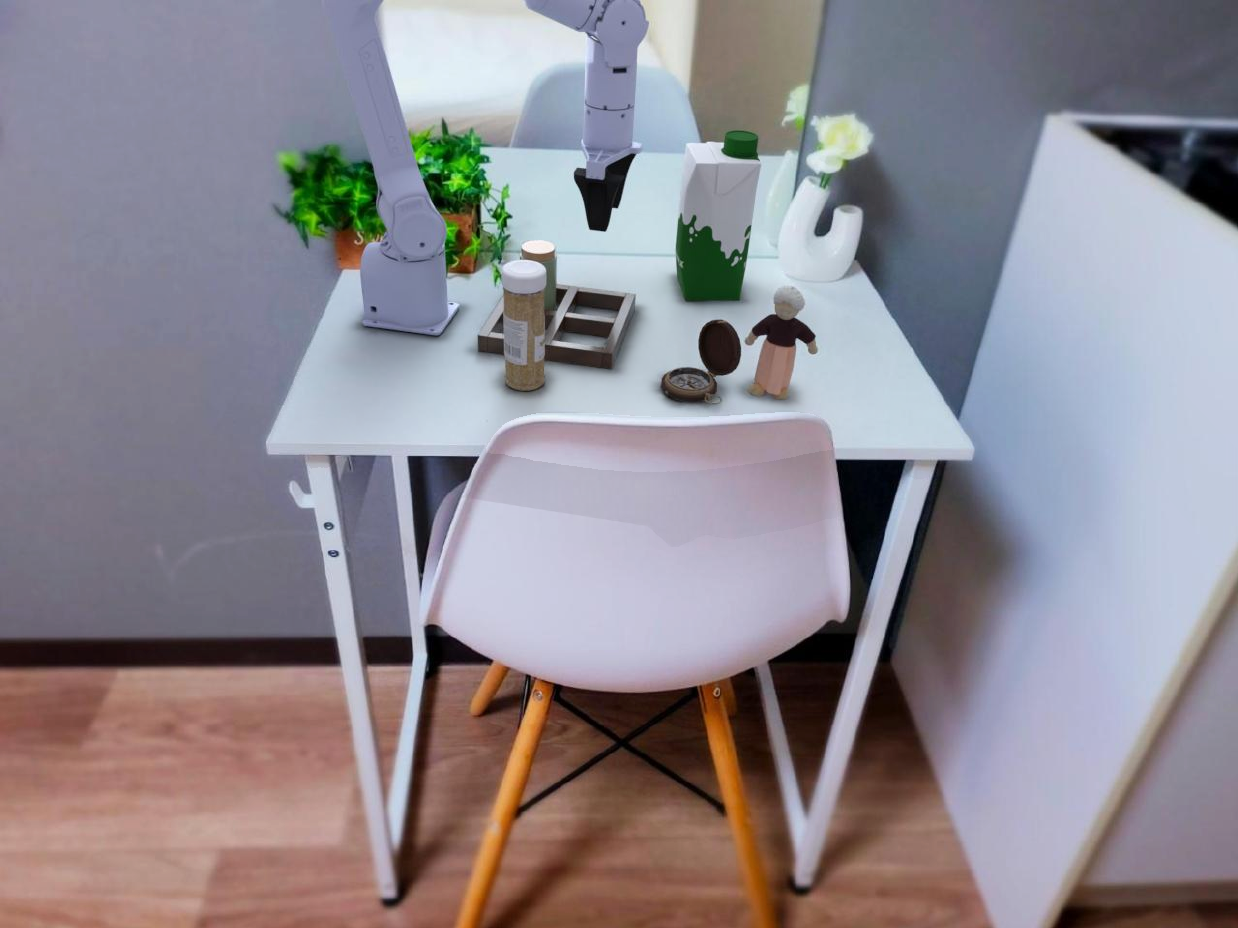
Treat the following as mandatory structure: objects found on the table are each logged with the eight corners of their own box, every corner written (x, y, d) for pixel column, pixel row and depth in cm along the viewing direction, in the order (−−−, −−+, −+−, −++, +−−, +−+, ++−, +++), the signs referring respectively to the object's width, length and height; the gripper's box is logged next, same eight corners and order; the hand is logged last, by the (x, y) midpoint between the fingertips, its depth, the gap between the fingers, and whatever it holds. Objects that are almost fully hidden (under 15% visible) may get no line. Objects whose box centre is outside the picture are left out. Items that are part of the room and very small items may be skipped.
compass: (648, 385, 108) (653, 325, 104) (703, 366, 112) (710, 308, 108) (695, 418, 103) (702, 358, 99) (750, 398, 107) (760, 338, 103)
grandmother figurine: (739, 399, 107) (755, 292, 99) (738, 380, 110) (752, 276, 102) (810, 404, 107) (831, 297, 99) (806, 385, 110) (826, 281, 102)
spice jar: (516, 317, 119) (515, 251, 115) (525, 301, 123) (525, 237, 118) (551, 322, 119) (552, 256, 114) (559, 306, 123) (560, 241, 118)
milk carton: (748, 304, 126) (769, 147, 114) (678, 304, 125) (693, 146, 113) (734, 274, 133) (753, 124, 121) (668, 274, 132) (680, 123, 120)
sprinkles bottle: (553, 386, 107) (554, 271, 99) (516, 396, 105) (514, 280, 97) (532, 367, 110) (532, 254, 102) (496, 377, 108) (493, 263, 100)
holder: (477, 350, 112) (477, 335, 111) (514, 292, 125) (514, 278, 124) (611, 369, 110) (612, 353, 109) (635, 308, 123) (636, 293, 122)
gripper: (633, 125, 105) (626, 245, 113) (653, 90, 117) (646, 200, 125) (568, 118, 106) (566, 237, 114) (595, 84, 118) (591, 194, 125)
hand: (604, 218), depth 119 cm, fingers open, 7 cm apart
